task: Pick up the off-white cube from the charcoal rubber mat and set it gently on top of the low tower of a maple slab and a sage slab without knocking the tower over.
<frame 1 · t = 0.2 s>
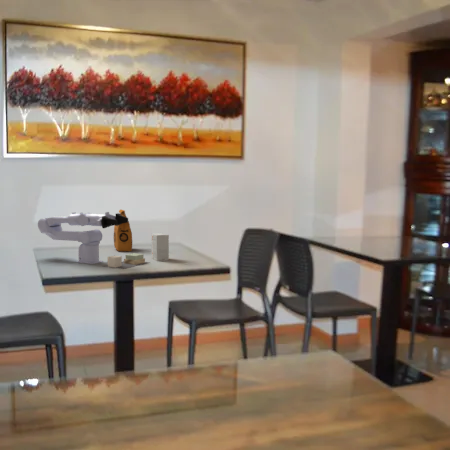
hand: (122, 221, 269), 21 cm above the table, tool horizontal, fingers open, 7 cm apart
small box: (160, 260, 291), on the table
maple base slab: (134, 262, 280), resting on rubber mat, touching sage top slab
offwhite cube: (114, 266, 270), resting on rubber mat
rubber mat: (127, 265, 276), on the table
coffee package: (123, 250, 321), on the table
sage top slab: (134, 258, 279), point 2 cm above the table, touching maple base slab
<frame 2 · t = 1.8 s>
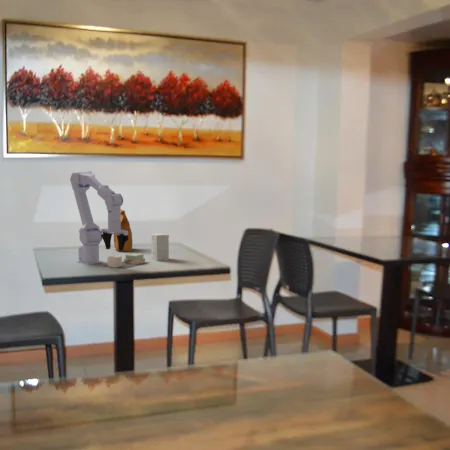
hand: (114, 249, 269), 8 cm above the table, tool pointing down, fingers open, 7 cm apart
nothing on the table moved.
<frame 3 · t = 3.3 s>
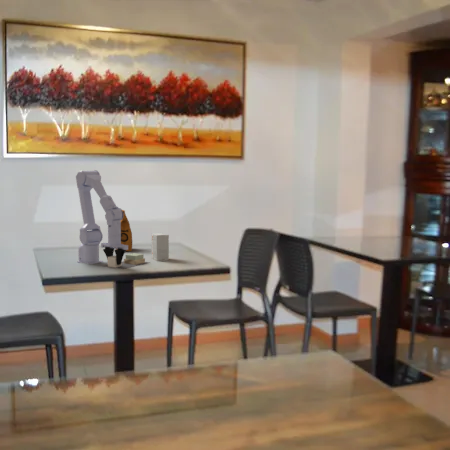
hand: (114, 264, 270), 1 cm above the table, tool pointing down, fingers closed on offwhite cube, 4 cm apart
offwhite cube: (114, 266, 270), resting on rubber mat, touching gripper
everything else where it was.
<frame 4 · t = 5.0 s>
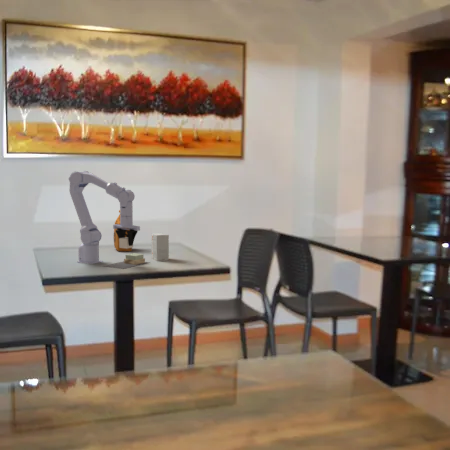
hand: (126, 245, 275), 10 cm above the table, tool pointing down, fingers closed on offwhite cube, 4 cm apart
offwhite cube: (126, 247, 275), point 8 cm above the table, touching gripper
everything else where it was.
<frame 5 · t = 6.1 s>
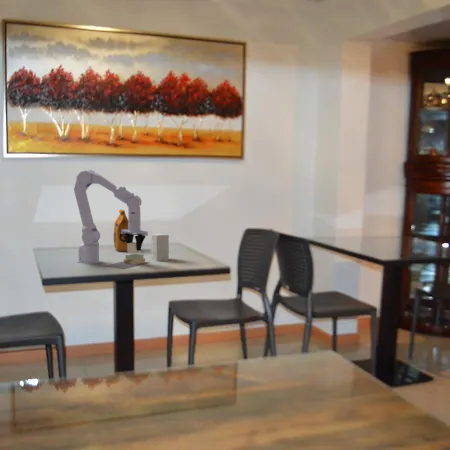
hand: (134, 249, 279), 7 cm above the table, tool pointing down, fingers closed on offwhite cube, 4 cm apart
offwhite cube: (134, 252, 279), point 5 cm above the table, touching gripper
everything else where it was.
when the fingers open (7 cm above the table, at t = 7.0 s): offwhite cube stays where it is, resting on sage top slab.
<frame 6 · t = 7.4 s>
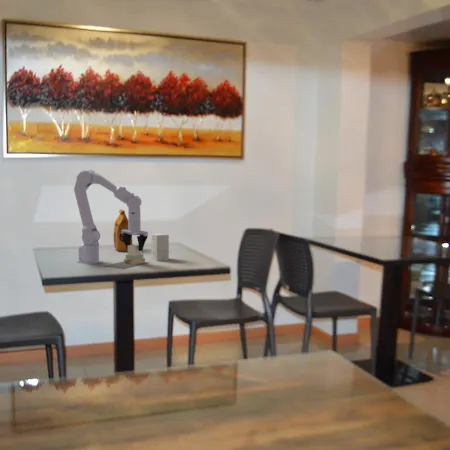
hand: (134, 250, 279), 7 cm above the table, tool pointing down, fingers open, 7 cm apart
offwhite cube: (134, 254, 279), point 4 cm above the table, touching sage top slab
sage top slab: (134, 258, 279), point 2 cm above the table, touching maple base slab, offwhite cube
everything else where it was.
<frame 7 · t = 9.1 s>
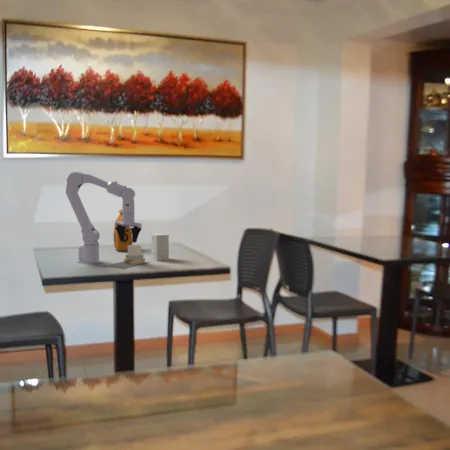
hand: (128, 241, 280), 10 cm above the table, tool pointing down, fingers open, 7 cm apart
nothing on the table moved.
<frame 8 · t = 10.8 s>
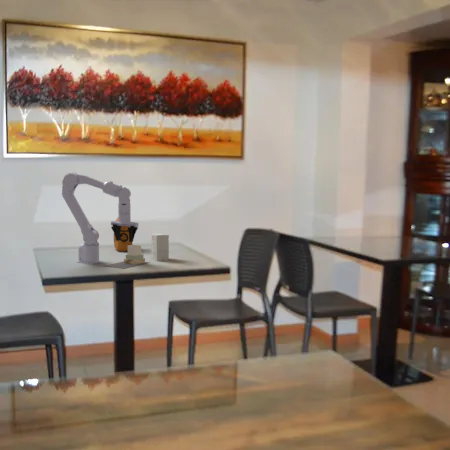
hand: (124, 241, 281), 10 cm above the table, tool pointing down, fingers open, 7 cm apart
nothing on the table moved.
at the end: offwhite cube 0.2 cm off-centre on the sage top slab, point 2.0 cm above the sage top slab's base; sage top slab 0.0 cm off-centre on the maple base slab, point 2.0 cm above the maple base slab's base; offwhite cube tilted 0° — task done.
